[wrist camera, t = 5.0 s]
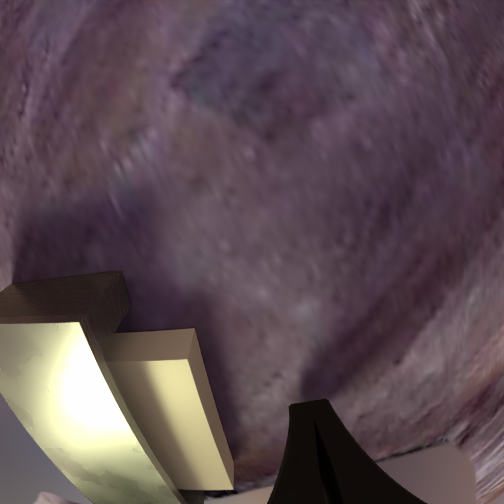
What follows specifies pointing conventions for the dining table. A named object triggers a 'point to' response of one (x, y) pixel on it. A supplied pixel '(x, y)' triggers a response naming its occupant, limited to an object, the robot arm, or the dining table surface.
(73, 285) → the overhang
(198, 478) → the cream sticky note pad
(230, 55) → the dining table surface
